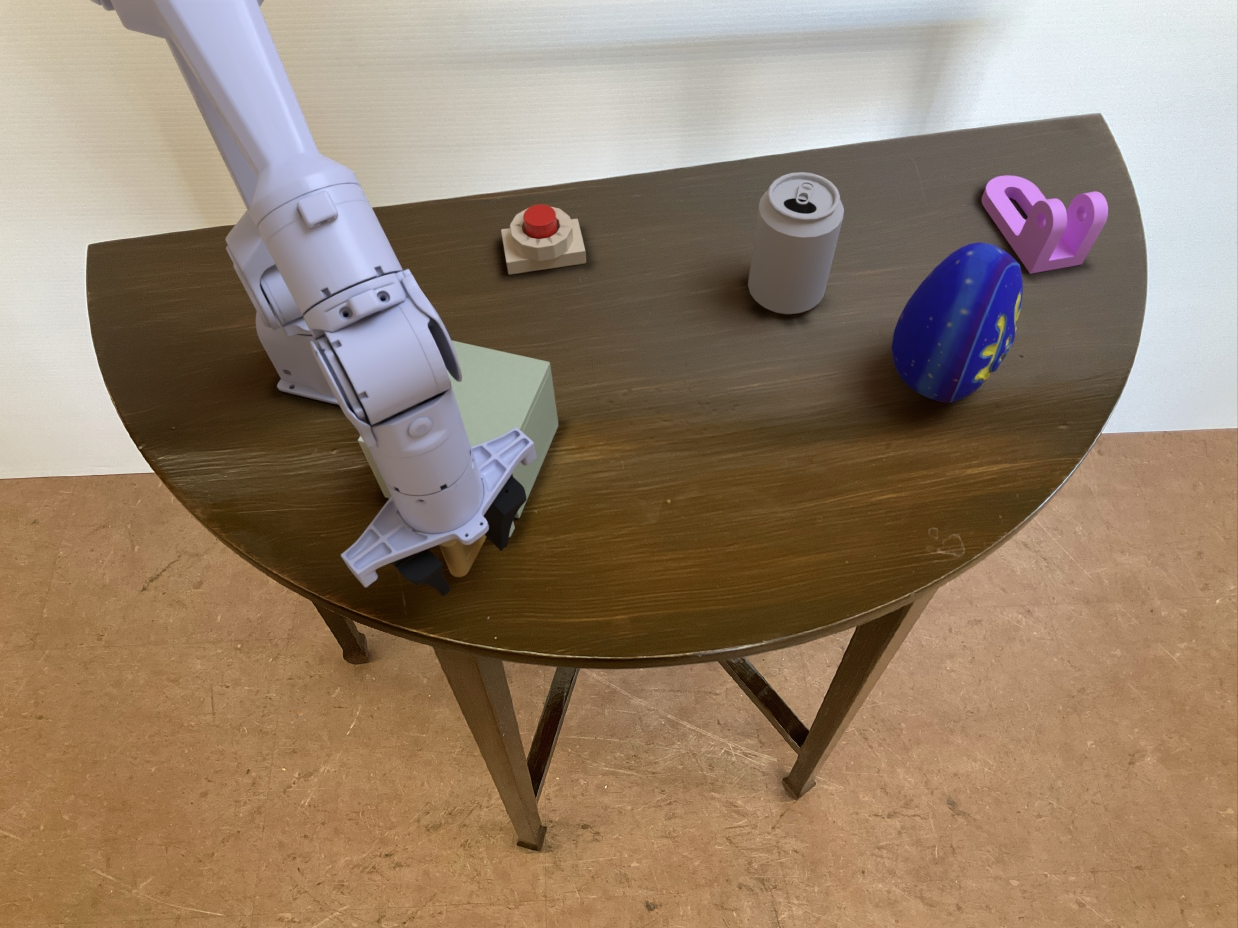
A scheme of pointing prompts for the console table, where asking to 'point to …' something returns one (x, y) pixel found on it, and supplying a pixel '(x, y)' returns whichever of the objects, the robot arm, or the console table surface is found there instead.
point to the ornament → (959, 323)
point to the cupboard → (506, 402)
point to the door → (452, 550)
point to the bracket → (1045, 223)
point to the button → (540, 221)
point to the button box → (543, 245)
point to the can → (795, 242)
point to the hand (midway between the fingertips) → (467, 562)
